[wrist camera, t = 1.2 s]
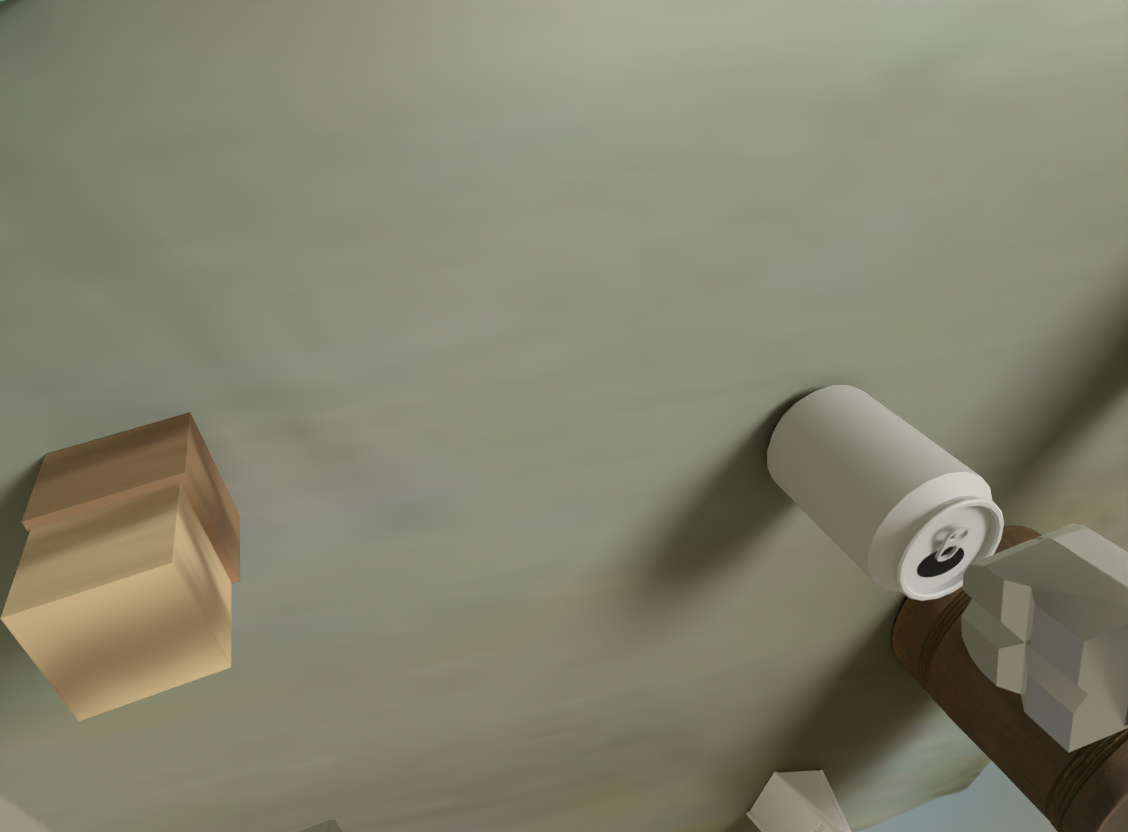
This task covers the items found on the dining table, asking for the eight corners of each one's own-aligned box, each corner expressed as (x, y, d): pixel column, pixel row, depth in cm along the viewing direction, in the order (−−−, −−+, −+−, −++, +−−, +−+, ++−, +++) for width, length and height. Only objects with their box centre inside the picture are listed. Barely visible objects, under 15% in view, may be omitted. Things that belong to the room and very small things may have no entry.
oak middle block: (30, 528, 31) (0, 618, 27) (179, 482, 32) (171, 562, 28) (97, 626, 34) (78, 721, 30) (231, 582, 35) (230, 667, 31)
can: (751, 494, 50) (876, 629, 41) (767, 388, 46) (908, 508, 37) (853, 471, 52) (994, 594, 43) (876, 368, 49) (1037, 477, 39)
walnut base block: (46, 453, 35) (21, 521, 31) (190, 411, 36) (184, 472, 32) (109, 555, 38) (94, 630, 34) (239, 514, 39) (240, 581, 35)
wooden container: (963, 679, 70) (1211, 932, 53) (856, 655, 63) (1102, 940, 45) (1077, 547, 66) (1389, 773, 48) (976, 504, 59) (1301, 753, 41)
